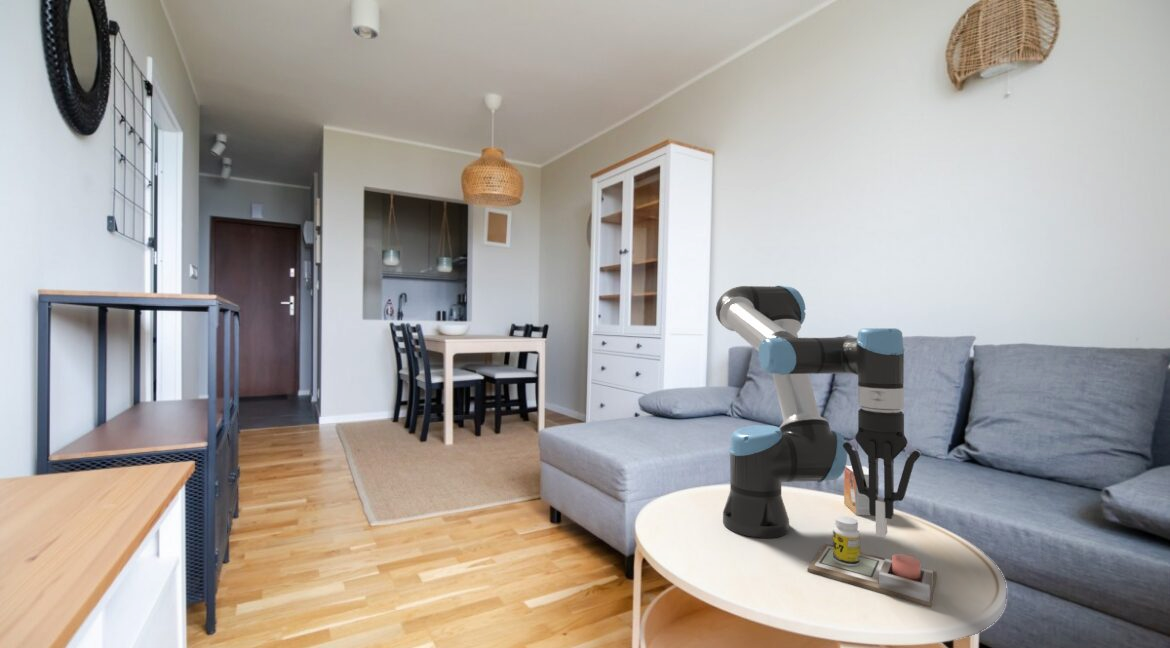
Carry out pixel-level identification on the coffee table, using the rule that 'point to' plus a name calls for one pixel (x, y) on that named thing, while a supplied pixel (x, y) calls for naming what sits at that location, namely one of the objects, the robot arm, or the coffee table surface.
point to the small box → (856, 492)
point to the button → (906, 567)
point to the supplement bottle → (846, 541)
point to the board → (875, 576)
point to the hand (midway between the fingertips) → (881, 533)
